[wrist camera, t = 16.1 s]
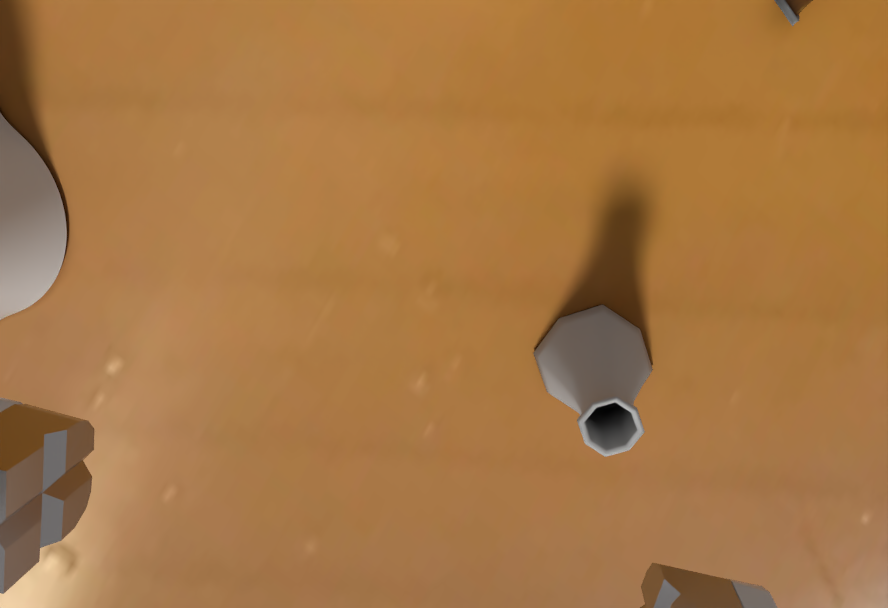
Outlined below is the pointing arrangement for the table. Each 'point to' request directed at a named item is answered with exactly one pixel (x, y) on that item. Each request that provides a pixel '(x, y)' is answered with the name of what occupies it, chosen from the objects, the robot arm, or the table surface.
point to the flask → (597, 375)
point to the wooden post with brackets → (792, 8)
